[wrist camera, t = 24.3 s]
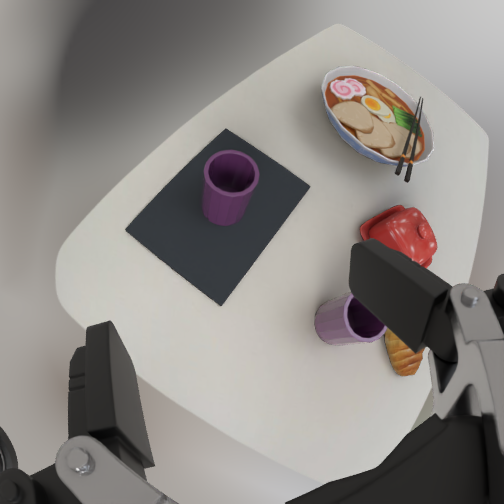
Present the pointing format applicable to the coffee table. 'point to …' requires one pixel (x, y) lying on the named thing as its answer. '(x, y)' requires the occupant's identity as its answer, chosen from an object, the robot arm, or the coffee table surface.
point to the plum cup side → (347, 322)
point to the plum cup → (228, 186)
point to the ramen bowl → (377, 117)
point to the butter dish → (403, 233)
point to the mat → (209, 234)
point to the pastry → (401, 355)
